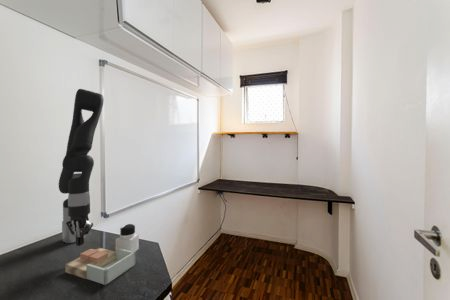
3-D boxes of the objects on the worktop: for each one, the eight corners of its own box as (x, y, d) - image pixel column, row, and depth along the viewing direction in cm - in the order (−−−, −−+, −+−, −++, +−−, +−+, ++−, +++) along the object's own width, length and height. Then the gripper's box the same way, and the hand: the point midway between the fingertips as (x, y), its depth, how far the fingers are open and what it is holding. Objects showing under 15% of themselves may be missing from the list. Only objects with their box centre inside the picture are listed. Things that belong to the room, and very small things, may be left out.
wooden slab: (65, 272, 79) (65, 264, 79) (99, 254, 92) (99, 247, 92) (85, 279, 75) (85, 270, 75) (118, 259, 88) (118, 252, 88)
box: (86, 278, 75) (86, 264, 75) (117, 259, 88) (118, 247, 88) (105, 285, 72) (105, 270, 72) (135, 264, 85) (135, 252, 84)
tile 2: (89, 261, 81) (89, 256, 81) (99, 255, 85) (99, 250, 85) (97, 263, 79) (97, 258, 79) (108, 257, 84) (108, 252, 84)
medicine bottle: (139, 248, 97) (139, 223, 97) (130, 256, 90) (130, 229, 90) (124, 247, 98) (124, 222, 98) (115, 255, 91) (115, 228, 91)
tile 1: (80, 258, 83) (80, 253, 83) (91, 253, 87) (91, 248, 87) (88, 261, 81) (88, 255, 81) (98, 255, 85) (98, 250, 85)
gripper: (58, 204, 85) (59, 246, 86) (82, 207, 81) (82, 251, 81) (76, 200, 93) (77, 239, 93) (99, 202, 88) (99, 243, 88)
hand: (79, 244), depth 87 cm, fingers closed
